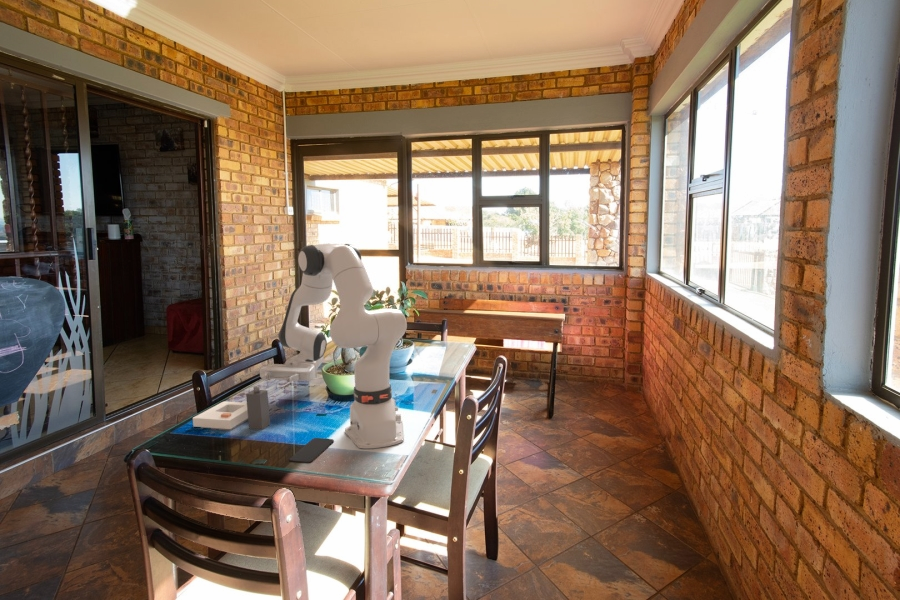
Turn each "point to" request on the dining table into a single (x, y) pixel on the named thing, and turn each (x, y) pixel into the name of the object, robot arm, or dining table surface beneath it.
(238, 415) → the socket
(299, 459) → the phone
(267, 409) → the plug
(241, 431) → the dining table surface
